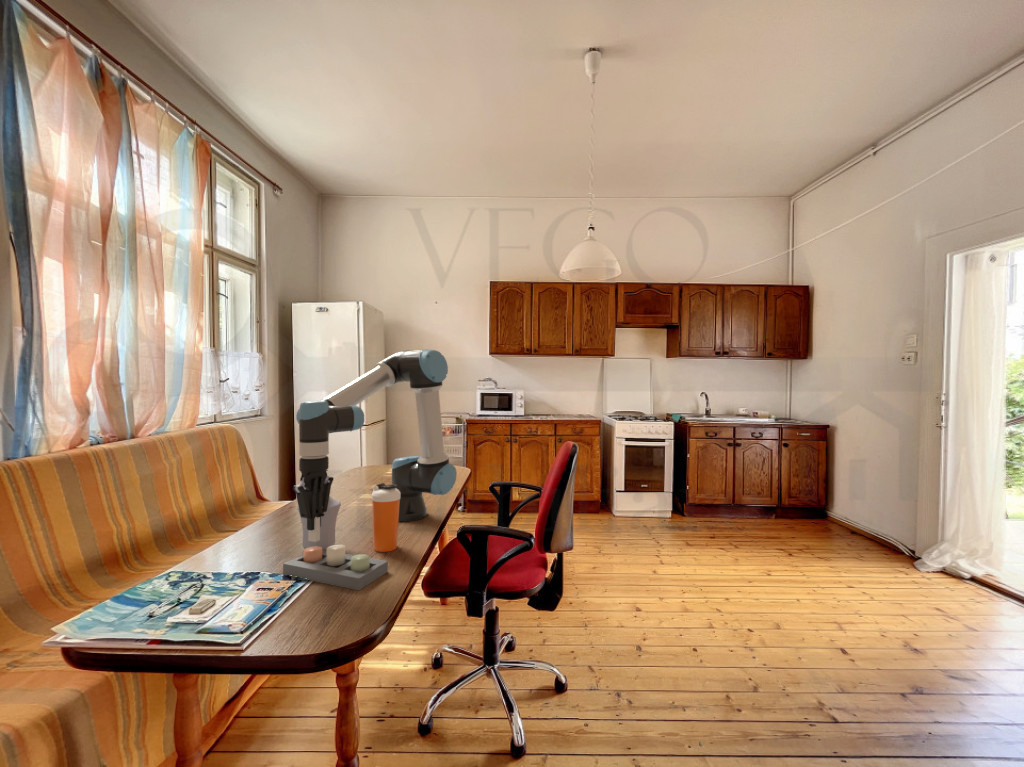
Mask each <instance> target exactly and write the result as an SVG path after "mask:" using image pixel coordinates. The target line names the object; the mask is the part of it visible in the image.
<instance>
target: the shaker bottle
mask: <svg viewBox="0 0 1024 767" xmlns="http://www.w3.org/2000/svg"><path fill="white" fill-rule="evenodd" d="M396 487H397V485H395V484H392V483H389V484H386V483H385V482H382V483H378V484H375V485H373V487H372V489H373V490H372V493H371V495H370V496H371V498H370V500H371V507H372V510H371V511H372V532H373V533H372V534H373V535H372V536H373V550H374V551H375V552H377V553H378V552H379V553H386V552H392V551H394V550H396V549H397V548H398V535H399V522H400V521H399V503H400V491H399V490H398V489H396Z"/></svg>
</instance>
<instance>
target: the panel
mask: <svg viewBox="0 0 1024 767" xmlns="http://www.w3.org/2000/svg"><path fill="white" fill-rule="evenodd" d="M355 555H356V554H350V553H345V563H343V564H341V565H337V566H329V565H327V550H322V560H320V561H318V562H316V563H314V564H312V563H307V562H304V553H303V554H301V555H299V556H297V557H295V558H293V559H291V560H288V561H286V562H284V563H282V575H283V576H287V575H292V576H297V577H302V578H307V579H309V580H308V581H311V582H317V583H322V584H327V585H331V586H336V587H341V588H346V589H350V590H355V591H360V590H362V589H364V588H365V587H367V586H368V585H370V584H371V583H372V582H374V581H376V580H377V579H380V578H381V577H382V576H383V575H386V574H387V573H388V572H389V570H388V569H389V567H388V566H389V565H388V564H389V561H388V560H385V559H383V560H382V559H379V558H373V557H370V568H369V569H368V570H366V571H364V572H363V573H360V572H355V571H351V557H353V556H355Z"/></svg>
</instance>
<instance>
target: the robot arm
mask: <svg viewBox="0 0 1024 767" xmlns="http://www.w3.org/2000/svg"><path fill="white" fill-rule="evenodd" d="M448 372H449V366H448V362H447V359H446V358H445V356H444V355H443V354H442V353H441V352H440V351H438V350H435V349H429V348H428V349H416V350H415V349H411V350H410V349H407V350H400V351H397V352H395V353H393V354H392V355H389V356H387V357H386V358H384V359H382V360H381V361H379V362H377V363H376V364H375V365H374V366H373V369H371V370H369V371H367V372H365V373H364V374H361V375H360V376H359V377H357V378H355V379H354V380H352V381H351V382H349V383H347V384H346V385H344V386H342V387H341V388H339V389H337V390H336V391H334V392H332V393H331V394H328V395H327V396H326V397H324V398H322V399H320V400H308V401H307V400H306V401H303V402H301V403H300V405H299V408H298V410H297V411H296V415H295V417H296V422H297V423H298V432H299V433H298V436H299V438H298V439H299V442H298V444H299V445H298V447H299V449H298V450H299V452H298V453H299V457H300V458H299V459H298V460H299V462H298V463H299V465H298V466H299V469H298V470H299V472H300V473H301V476H300V478H299V480H300V482H299V483H298V484H295V485H293V487H292V490H293V491H294V492H295V496H296V500H297V501H296V502H297V507H298V506H299V511H300V514H299V516H301V517H302V518H307V530H308V541H313V542H317V541H319V540H320V527H321V516H322V517H323V516H324V515H325V514H323V513H324V512H326V511H327V507H328V501H329V496H331V495H330V494H331V487H332V484H333V483H334V478H335V477H333V476H329V475H328V471H326V470H329V461H330V460H329V456H328V455H329V453H330V452H329V450H330V449H329V447H330V446H329V438H330V437H329V434H333V433H343V432H344V433H345V432H353V431H357V430H360V429H362V428H363V426H364V423H365V412H364V411H363V409H362V408H361V407H360V406H358V405H359V404H360V403H362V402H363V401H365V400H366V399H368V398H369V397H371V396H373V395H375V394H376V393H377V392H379V391H380V390H382V389H383V388H385V387H386V388H388V387H392V386H393V385H395V384H397V383H402V382H403V383H404V382H409V386H410V389H411V390H412V391H413V392H414V396H415V405H416V413H417V414H416V416H417V425H418V426H417V427H418V435H419V436H418V438H419V439H418V440H419V447H420V455H409V456H403V457H398V458H395V459H393V461H392V466H391V467H392V468H391V484H395V485H397V487H396V489H398V490H399V491H400V503H399V521H398V522H412V521H411V520H413V521H418V520H421V519H420V518H422V519H423V517H424V518H425V517H427V515H428V514H427V513H428V512H427V510H428V509H427V507H426V503H425V499H424V495H423V493H425V494H431V495H434V496H437V495H438V496H444V495H447V494H448V493H450V492H451V490H452V489H453V488H454V485H455V483H456V481H457V469H456V467H455V465H453V464H451V463H450V460H449V459H450V458H449V455H448V454H446V453H445V448H444V447H445V446H444V437H443V426H442V422H443V421H442V412H441V401H440V389H441V388H442V387H443V382H444V381H445V379H446V378H447V375H448V374H449V373H448ZM299 511H298V512H299ZM301 517H300V518H301ZM417 519H418V520H417Z"/></svg>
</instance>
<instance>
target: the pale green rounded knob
mask: <svg viewBox="0 0 1024 767" xmlns="http://www.w3.org/2000/svg"><path fill="white" fill-rule="evenodd" d="M354 555H355V556H353V557H351V571H355V572H360V573H363V572H364V571H366V570H368V569H369V568H370V558H371V557H370V555H369V554H365V553H363V554H354Z"/></svg>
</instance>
